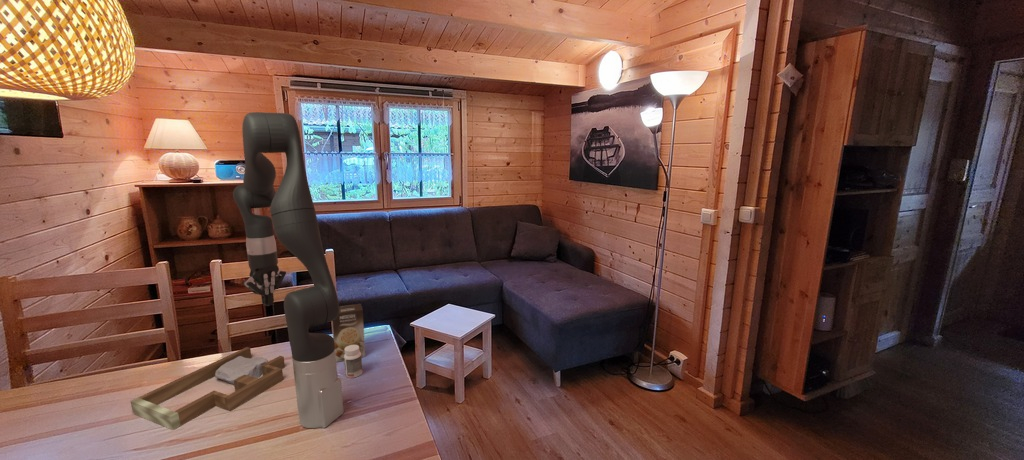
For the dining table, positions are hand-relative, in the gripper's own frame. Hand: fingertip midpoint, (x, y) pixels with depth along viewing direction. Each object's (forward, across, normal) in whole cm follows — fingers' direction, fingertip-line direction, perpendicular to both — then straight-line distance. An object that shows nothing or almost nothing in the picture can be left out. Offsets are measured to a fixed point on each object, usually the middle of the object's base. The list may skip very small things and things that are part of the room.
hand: (268, 304), depth 121 cm
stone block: (+18, -11, 0) cm, 21 cm away
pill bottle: (+18, +2, -30) cm, 35 cm away
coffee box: (+18, +10, -21) cm, 29 cm away
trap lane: (+18, -18, -3) cm, 25 cm away
